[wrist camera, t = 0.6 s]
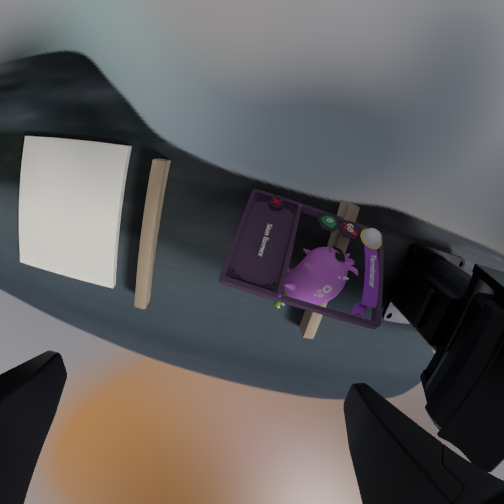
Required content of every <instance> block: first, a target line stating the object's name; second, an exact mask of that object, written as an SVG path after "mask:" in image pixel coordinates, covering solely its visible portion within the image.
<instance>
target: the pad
mask: <svg viewBox="0 0 504 504" xmlns="http://www.w3.org/2000/svg"><path fill="white" fill-rule="evenodd" d="M131 148H132V146H127V145H119V144H112V143H104V142H95V141H86V140H77V139H66V138H54V137H40V136H25V140H24V147H23V155H22V164H21V175H20V190H19V251H20V262H21V263H24V264H28V265H31V266H34V267H37V268H41V269H44V270H47V271H51V272H54V273H57V274H61V275H64V276H68V277H71V278H75V279H79V280H82V281H86V282H90V283H93V284H97V285H101V286H105V287H109V288H114V286H115V285H116V268H117V253H118V241H119V230H120V220H121V212H122V204H123V196H124V189H125V182H126V176H127V170H128V164H129V158H130V153H131Z"/></svg>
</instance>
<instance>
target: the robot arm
mask: <svg viewBox="0 0 504 504" xmlns="http://www.w3.org/2000/svg"><path fill="white" fill-rule="evenodd" d="M415 248H416V250H415V252H414V249H415ZM459 263H460V264H459ZM464 265H465V260H464V259H463V258H461V257H459V256H456V255H453V254H450V253H447V252H444V251H441V250H438V249H435V248H432V247H428V246H425V245H422V244H419V243H412V244H411V245H410V246H409V248H408V251H407V254H406V256H405V259H404V262H403V264H402V267H401V269H400V272H399V274H398V277H397V279H396V282H395V284H394V287H393V289H392V291H391V294H390V296H389V299H388V301H387V303H386V306H385V308H384V310H383V312H382V317H383V318H384V320H385V321H390V322H398V323H407V324H411V325H412V326H413V327H414V328H415V329H416V330H417V331H418V332H419V333H420V334H421V336H422V337H423V338H424V339H425V340H426V341H427V343H428V344H429V345H431V347H432V348H433V349H434V350H435V351H436V353H435V354H434V356H433V358H432V360H431V361H430V363H429V365H428V367H427V368H426V370H424V371H423V373H422V374H421V376H420V378H421V381H422V385H423V389H424V392H425V396H426V400H427V404H426V406H425V409H426V411H427V413H428V415H429V417H430V418H431V420H432V421H433V423H434V424H435V425H436V427H437V428H438V429H439V430H440V431H439V432H438V433H437V435H438V436H439V437H440V438H442V439H444V440H446V441H448V442H450V443H452V444H453V445H454V446H456V447H457V448H458V449H460V450H461V451H462V452H463V453H464V455H466V457H467V458H468V459H469V461H470V462H471V463H470V462H469V461H467V460H465V459H464V458H462V457H461V456H459V455H458V454H456V453H455V452H454V451H452V450H451V449H449V448H448V447H447V446H445V445H444V444H442V443H441V442H440V441H439V440H437V439H436V438H435V437H433V436H432V435H431V434H430V433H428V432H427V431H426V430H424V429H423V428H422V427H420V426H419V425H418V424H417V423H415V422H414V421H413V420H411V419H410V418H408V417H407V416H406V415H405V414H403V413H402V412H401V411H400V410H398V409H397V408H396V407H395V406H393V405H392V404H391V403H390V402H388V401H387V400H386V399H385V398H383V397H382V396H381V395H380V394H378V393H377V392H376V391H375V390H373V389H372V388H371V387H370V386H368V385H367V384H365V383H355V384H353V385H352V386H351V387H350V389H349V392H348V394H347V396H346V399H345V401H344V414H345V421H346V429H347V436H348V444H349V449H350V454H351V457H352V462H353V466H354V470H355V474H356V477H357V482H358V486H359V490H360V494H361V499H362V503H363V504H504V481H503V480H501V479H498V478H496V477H495V476H493V475H491V474H489V473H488V472H492V471H493V470H494V469H495V468H496V467H497V466H498V465H499V464H500V463H501V462H502V461H503V460H504V272H502V271H499V270H496V269H493V268H489V267H486V266H483V265H479V264H476V263H475V265H474V268H473V271H472V272H473V274H472V276H471V275H469V274H468V273H466V272H465V271H463V268H464ZM389 313H390V314H389ZM388 314H389V315H388ZM387 315H388V316H387ZM66 378H67V372H66V369H65V366H64V363H63V359H62V356H61V355H60V354H59V353H58V352H54V351H47V352H44V353H43V354H41V355H39V356H37V357H34V358H33V359H30V360H29V361H26V362H25V363H23V364H21V365H18V366H17V367H15V368H12V369H10V370H8V371H6V372H5V373H2V374H1V375H0V504H24V501H25V497H26V493H27V490H28V487H29V484H30V481H31V478H32V475H33V472H34V469H35V466H36V463H37V460H38V458H39V455H40V452H41V449H42V447H43V444H44V441H45V439H46V436H47V434H48V431H49V429H50V426H51V424H52V421H53V419H54V416H55V413H56V410H57V407H58V404H59V401H60V397H61V394H62V391H63V388H64V385H65V381H66Z"/></svg>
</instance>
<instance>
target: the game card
mask: <svg viewBox="0 0 504 504" xmlns="http://www.w3.org/2000/svg"><path fill="white" fill-rule="evenodd" d="M301 213H305V214H308V215H311V216H314V217H317V220H318V222H319V225H320V227H321V229H324V230H327V231H329V232H332V233H334V232H335V231H336V230H337V229H338V228H339V229H340V231H341V233H342V236H344V237H347V238H349V239H352V240H355V239H356V238H357V236H358V235H359V234H360V233H361V234H360V237H361V240H362V242H363V243H364V250H365V278H364V289H363V298H362V303H358V302H357V303H355V305H354V308H353V312H352V315H349V314H346V313H342V312H339V311H335V310H332V309H329V308H325V307H322V306H318V304H322V303H325V302H327V301H329V300H331V299H333V298H334V297H336V296H337V295H338V294H339V293H340V292H341V290H342V289H343V287H344V285H345V283H346V280H348V279H349V278H348V277H347V275H348V270H350V271H352V272H354V273H355V274H356V275H357V276H358V270H357V269H356V268H354V267H353V266H351V265H355V261H354V260H352V259H350V258H348V257H349V256H350V254H345V255H344V253H343V252H342V250H340V249H339V248H337V247H334V246H333V248H334V249H333V248H330V247H318V248H315V249H313V250H312V251H311V250H307V249H303V250H304V251H305V253H306V254H307V256H306V257H305V258H304V259H303V260H302V261H301V262H300V263H299V264H298V265H297V266H296V267H295V268H294V269H290V268H289V264H290V260H291V256H292V251H293V247H294V243H295V238H296V234H297V229H298V225H299V220H300V216H301ZM341 253H342V254H341ZM383 260H384V240H383V233H382V232H380V231H378V230H377V229H374V228H370V227H367V226H364V225H362V224H359V223H356V222H355V223H354V222H351V221H347V220H344V219H343V217H340V216H337V215H334V214H332V213H329V212H326V211H323V210H320V209H317V208H314V207H311V206H309V205H306V204H303V203H300V202H297V201H294V200H291V199H288V198H285V197H282V196H278V195H275V194H272V193H269V192H266V191H263V190H260V189H253V190H252V192H251V195H250V198H249V200H248V203H247V205H246V208H245V210H244V213H243V216H242V218H241V221H240V223H239V226H238V229H237V231H236V234H235V236H234V239H233V242H232V244H231V247H230V250H229V252H228V255H227V257H226V260H225V263H224V265H223V268H222V271H221V273H220V278H219V281H220V283H222V284H224V285H227V286H230V287H233V288H237V289H240V290H243V291H246V292H249V293H252V294H255V295H259V296H262V297H265V298H268V299H271V300H275V303H274V306H275V307H277V308H278V307H279V308H280V304H282V305H285V304H288V305H291V306H294V307H298V308H301V309H304V310H308V311H311V312H314V313H318V314H321V315H325V316H328V317H332V318H335V319H339V320H342V321H346V322H349V323H353V324H356V325H360V326H364V327H367V328H371V329H376V328H377V327H379V326H380V324H381V312H382V295H383ZM287 273H289V275H288V276H287ZM286 277H287V278H286ZM284 287H285V292H284V293H283V289H284ZM367 306H368V307H371V308H372V318H371V321H370V320H367V319H364V316H365V309H366V307H367ZM358 313H359V314H360V315H361V317H362V318H360V317H356V316H353V315H356V314H358Z"/></svg>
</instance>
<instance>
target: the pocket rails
mask: <svg viewBox="0 0 504 504" xmlns="http://www.w3.org/2000/svg"><path fill="white" fill-rule="evenodd" d="M170 162H171V160H166V159H160V158H158V159H153V161H152V166H151V172H150V177H149V183H148V189H147V195H146V201H145V208H144V215H143V222H142V230H141V238H140V247H139V256H138V266H137V278H136V291H135V306H134V307H137V308H141V309H146V307H147V305H148V303H149V301H150V297H151V286H152V277H153V268H154V260H155V252H156V244H157V237H158V230H159V223H160V217H161V211H162V205H163V199H164V193H165V188H166V182H167V177H168V172H169V167H170ZM359 209H360V207H358V206H356V205H354V204H352V203H349V202H346V201H342V200H341V202H340V205H339V209H338V212H337V216H340V217H343V219H344V220H347V221H351V222H354V223H355V222H356V219H357V216H358V212H359ZM349 241H350V239H349V238H347V237H344V236H342V233H341V231H340V229H339V228H338V229H337V230H336V231H335V232H334V233H332V232H331V235H330V238H329V242H328V245H327V247H330V248H333V246H334V247H337V248H339V249H340V250H342V252H343V253H344V255H345V253H346V250H347V247H348V244H349ZM333 249H334V248H333ZM341 254H342V253H341ZM327 303H328V301H327V302H325V303H322V304H318V306H322V307H325V308H326V305H327ZM322 316H323V315H321V314H318V313H314V312H311V311H308V310H305V312H304V315H303V317H302V320H301V323H300V326H299V328H300V330H301V333H302V336H303V338H309V339H313V338H314V336H315V333H316V331H317V328H318V326H319V323H320V321H321V318H322Z"/></svg>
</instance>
